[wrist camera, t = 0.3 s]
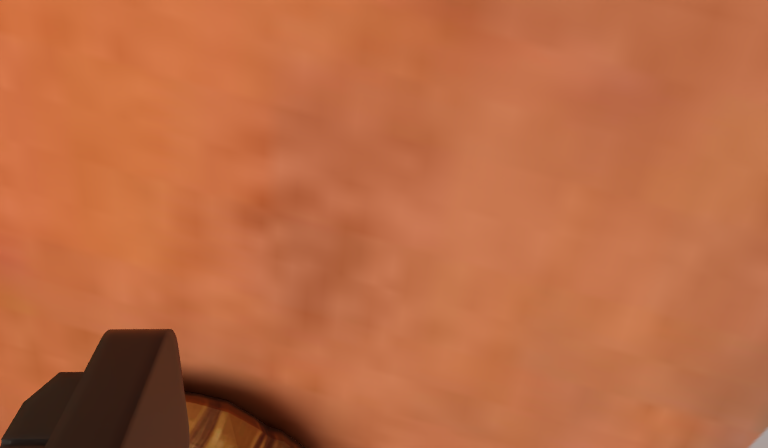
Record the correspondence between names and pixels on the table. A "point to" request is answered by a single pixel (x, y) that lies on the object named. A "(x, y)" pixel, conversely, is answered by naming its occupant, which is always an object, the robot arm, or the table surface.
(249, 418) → the croissant
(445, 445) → the table surface
